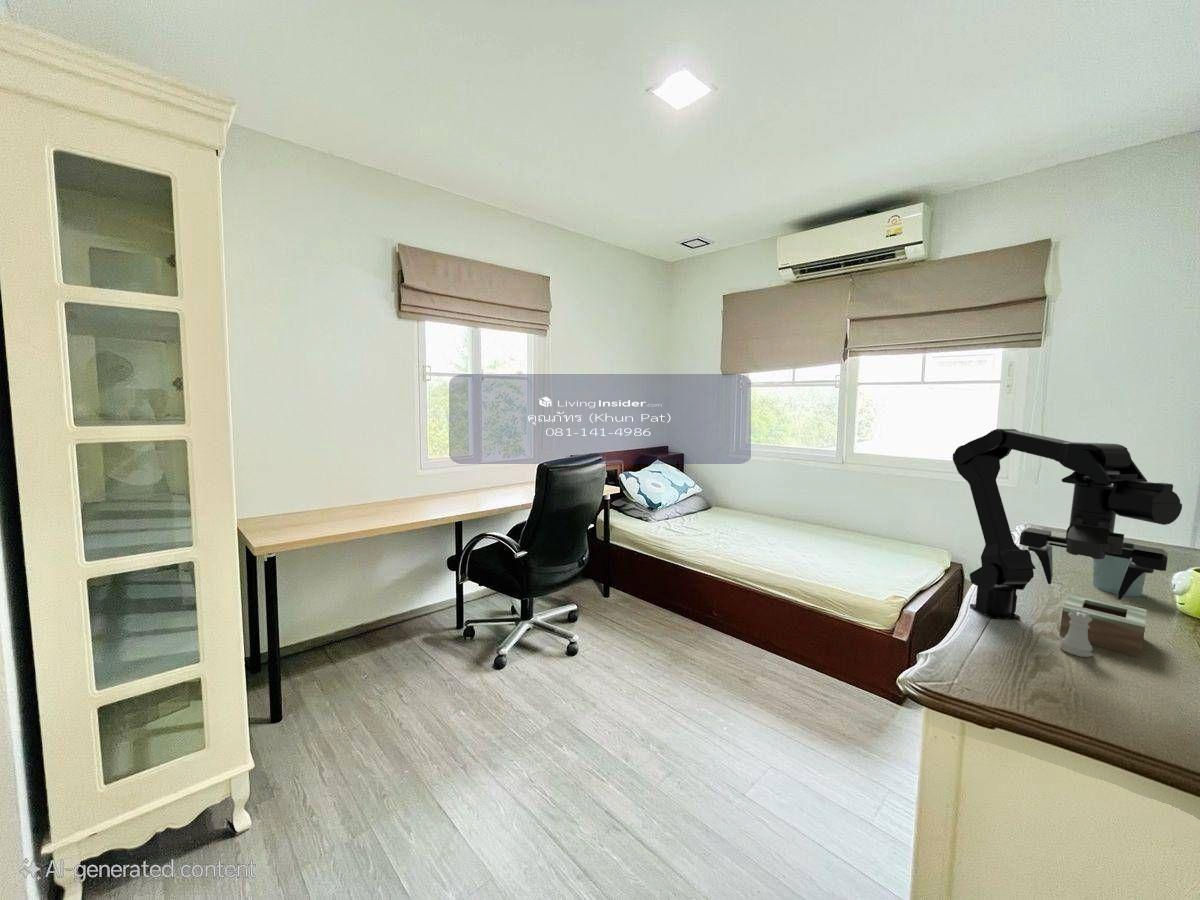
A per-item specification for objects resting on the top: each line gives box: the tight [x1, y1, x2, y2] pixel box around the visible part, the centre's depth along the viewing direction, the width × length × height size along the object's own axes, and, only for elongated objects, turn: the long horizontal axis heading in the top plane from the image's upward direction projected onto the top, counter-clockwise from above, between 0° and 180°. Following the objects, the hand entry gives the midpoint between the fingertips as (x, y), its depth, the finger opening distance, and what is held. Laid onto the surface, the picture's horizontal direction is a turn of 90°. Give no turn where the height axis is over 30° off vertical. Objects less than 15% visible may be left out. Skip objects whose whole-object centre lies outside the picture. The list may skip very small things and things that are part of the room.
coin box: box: [1059, 592, 1147, 658], centre depth 95 cm, size 12×11×6 cm
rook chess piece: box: [1059, 609, 1094, 658], centre depth 89 cm, size 4×4×8 cm
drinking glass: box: [1092, 541, 1147, 597], centre depth 120 cm, size 10×10×12 cm
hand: (1083, 591), depth 88 cm, fingers open, 9 cm apart
